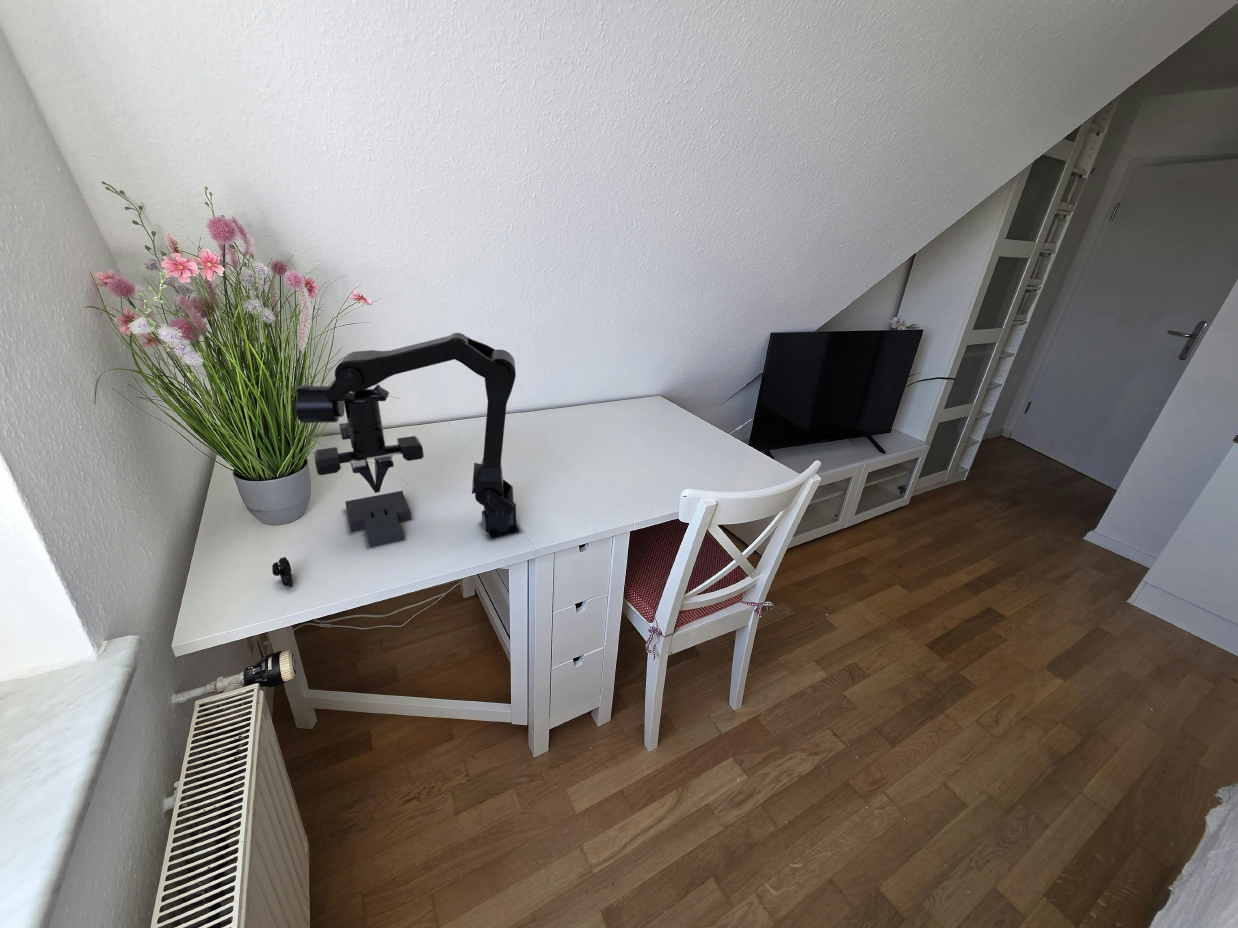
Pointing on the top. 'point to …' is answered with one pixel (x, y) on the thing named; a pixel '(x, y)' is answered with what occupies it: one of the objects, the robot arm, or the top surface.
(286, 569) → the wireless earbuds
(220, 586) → the top surface
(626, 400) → the top surface
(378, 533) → the tab pad
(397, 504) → the notch pad
